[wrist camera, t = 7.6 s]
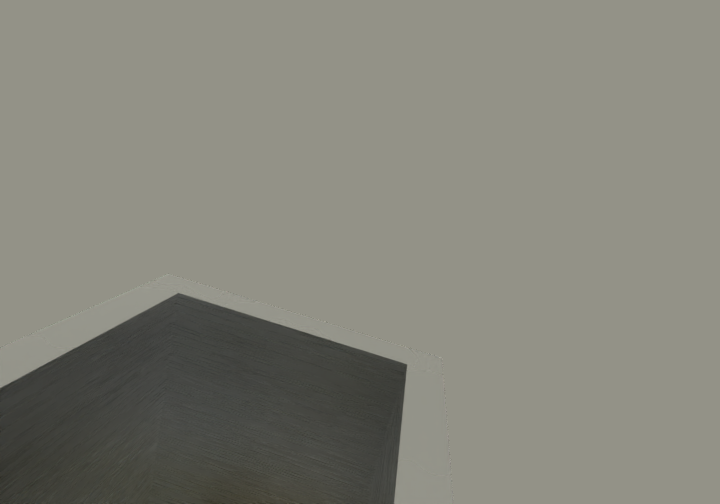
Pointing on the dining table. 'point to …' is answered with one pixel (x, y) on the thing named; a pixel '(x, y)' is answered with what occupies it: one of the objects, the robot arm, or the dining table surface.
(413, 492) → the sleeve
